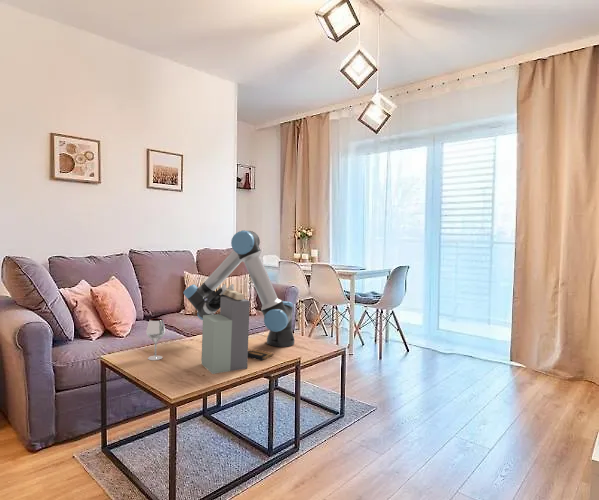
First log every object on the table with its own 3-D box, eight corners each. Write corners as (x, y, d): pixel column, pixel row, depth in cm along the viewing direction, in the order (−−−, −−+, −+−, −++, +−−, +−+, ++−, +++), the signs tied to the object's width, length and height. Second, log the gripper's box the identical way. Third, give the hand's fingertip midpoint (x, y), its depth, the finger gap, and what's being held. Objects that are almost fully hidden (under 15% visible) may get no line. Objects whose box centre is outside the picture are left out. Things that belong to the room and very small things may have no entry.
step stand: (201, 364, 181) (203, 297, 179) (234, 359, 189) (236, 295, 188) (212, 373, 169) (214, 302, 168) (247, 368, 177) (249, 300, 176)
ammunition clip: (243, 352, 194) (258, 347, 204) (243, 356, 194) (257, 351, 204) (262, 356, 188) (275, 351, 199) (261, 360, 188) (275, 355, 199)
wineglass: (157, 354, 192) (158, 316, 191) (168, 358, 187) (169, 319, 186) (142, 358, 185) (143, 319, 184) (152, 362, 180) (153, 322, 179)
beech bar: (218, 292, 192) (218, 287, 192) (224, 292, 194) (224, 287, 194) (237, 300, 174) (237, 294, 174) (243, 299, 176) (243, 294, 175)
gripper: (229, 310, 206) (246, 293, 188) (198, 312, 197) (213, 295, 180) (226, 296, 209) (243, 278, 191) (196, 298, 200) (211, 279, 182)
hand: (229, 286), depth 185 cm, fingers closed on beech bar, 3 cm apart
